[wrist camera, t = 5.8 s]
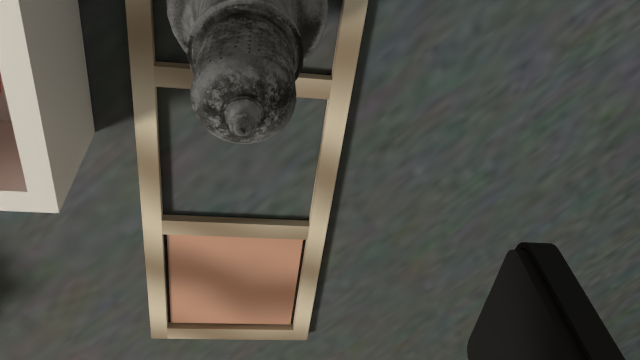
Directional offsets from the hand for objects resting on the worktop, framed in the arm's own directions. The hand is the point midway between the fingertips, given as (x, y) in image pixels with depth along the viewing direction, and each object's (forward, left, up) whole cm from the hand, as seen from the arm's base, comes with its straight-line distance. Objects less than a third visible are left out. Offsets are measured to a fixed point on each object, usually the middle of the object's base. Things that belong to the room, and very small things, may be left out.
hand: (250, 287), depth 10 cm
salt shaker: (0, 0, -17) cm, 17 cm away
